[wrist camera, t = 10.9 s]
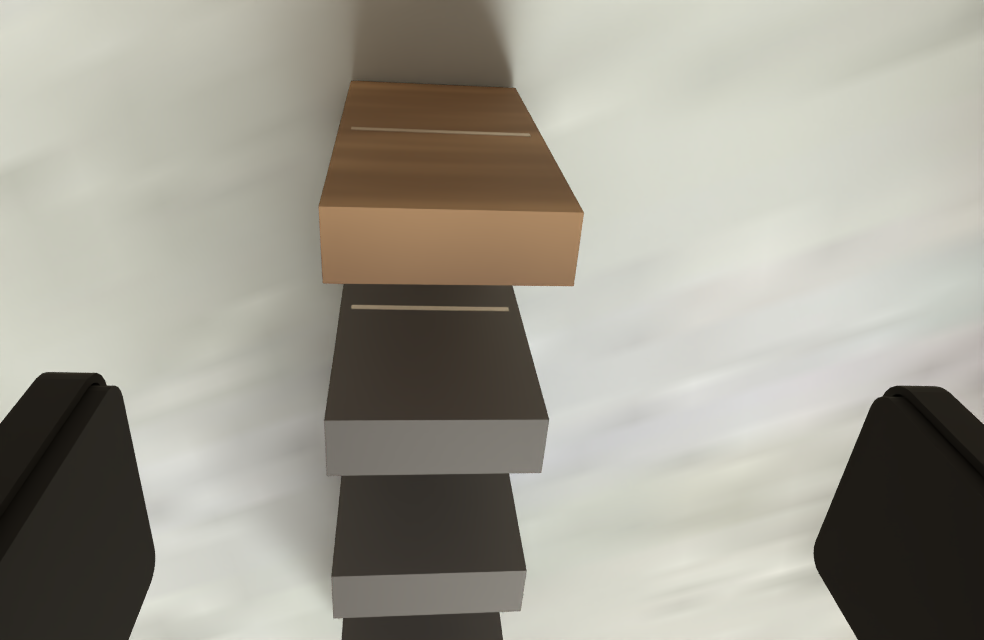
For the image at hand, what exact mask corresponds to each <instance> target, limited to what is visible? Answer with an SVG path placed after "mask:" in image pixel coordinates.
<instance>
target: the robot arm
mask: <svg viewBox="0 0 984 640" xmlns="http://www.w3.org/2000/svg"><path fill="white" fill-rule="evenodd" d="M814 561H815V565H816V568H817V570H818V572H819V574H820V576H821V578H822V579H823V581H824V583H825V585H826V586H827V588H828V590H829V591H830V593H831V595H832V596H833V598H834V600H835V602H836V603H837V605H838V607H839V608H840V610H841V612H842V613H843V615H844V617H845V619H846V620H847V622H848V624H849V625H850V627H851V629H852V630H853V632H854V634H855V635H856V637H857V639H858V640H984V424H983V423H982V422H980V421H979V420H978V419H977V418H976V417H975V416H974V415H973V414H972V413H971V412H970V411H969V410H968V409H967V408H966V407H964V406H963V405H962V404H961V403H960V402H959V401H958V400H957V399H956V398H955V397H954V396H953V395H952V394H951V393H950V392H948V391H947V390H945V389H944V388H941V387H936V386H894V387H891V388H890V389H888V390H887V391H886V392H885V393H884V395H883V397H879V398H877V399H876V400H875V401H874V402H873V404H872V405H871V407H870V410H869V412H868V415H867V417H866V419H865V422H864V424H863V427H862V429H861V432H860V434H859V437H858V439H857V441H856V444H855V446H854V449H853V451H852V454H851V456H850V459H849V461H848V463H847V466H846V468H845V471H844V473H843V476H842V478H841V481H840V483H839V485H838V488H837V490H836V493H835V495H834V498H833V500H832V503H831V505H830V507H829V510H828V512H827V515H826V517H825V520H824V522H823V524H822V527H821V529H820V532H819V534H818V537H817V539H816V542H815V545H814ZM154 567H155V549H154V544H153V539H152V534H151V529H150V525H149V520H148V515H147V510H146V505H145V501H144V496H143V491H142V486H141V482H140V477H139V472H138V467H137V462H136V458H135V453H134V448H133V443H132V439H131V434H130V429H129V424H128V419H127V415H126V410H125V405H124V400H123V396H122V393H121V391H120V389H119V388H118V387H117V386H107V385H106V382H105V380H104V378H103V377H102V376H101V375H100V374H98V373H68V372H46V373H42V374H41V375H40V376H39V377H37V378H36V379H35V381H34V382H33V383H32V384H31V386H30V387H29V388H28V390H27V391H26V392H25V393H24V395H23V396H22V397H21V398H20V400H19V401H18V402H17V403H16V405H15V406H14V407H13V408H12V410H11V411H10V412H9V413H8V415H7V416H6V417H5V418H4V420H3V421H2V422H1V423H0V640H129V637H130V635H131V632H132V629H133V627H134V624H135V622H136V619H137V617H138V614H139V612H140V609H141V606H142V604H143V601H144V599H145V596H146V594H147V591H148V589H149V586H150V584H151V580H152V577H153V573H154Z"/></svg>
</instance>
